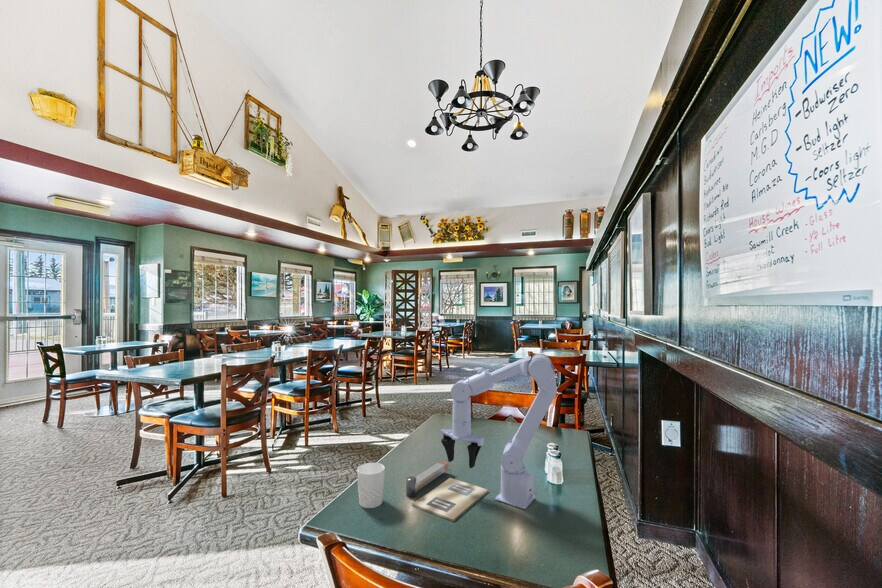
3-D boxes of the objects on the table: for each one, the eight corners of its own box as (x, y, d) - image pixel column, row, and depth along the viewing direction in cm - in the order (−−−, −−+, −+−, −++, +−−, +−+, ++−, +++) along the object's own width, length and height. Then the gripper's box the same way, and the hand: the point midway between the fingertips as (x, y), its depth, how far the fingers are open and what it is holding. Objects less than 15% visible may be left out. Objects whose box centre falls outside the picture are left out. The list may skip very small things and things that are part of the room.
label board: (488, 491, 122) (488, 489, 122) (453, 521, 105) (453, 518, 105) (450, 479, 129) (450, 477, 129) (412, 505, 113) (412, 503, 113)
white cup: (351, 505, 113) (351, 470, 113) (368, 493, 120) (368, 460, 120) (373, 512, 109) (373, 476, 109) (389, 499, 116) (390, 465, 116)
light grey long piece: (440, 470, 136) (440, 456, 136) (448, 472, 134) (448, 458, 134) (403, 495, 119) (404, 479, 119) (412, 498, 117) (412, 482, 117)
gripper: (435, 418, 123) (434, 462, 123) (475, 427, 115) (475, 474, 114) (447, 413, 129) (447, 455, 129) (487, 421, 120) (486, 466, 120)
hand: (461, 463), depth 122 cm, fingers open, 7 cm apart
